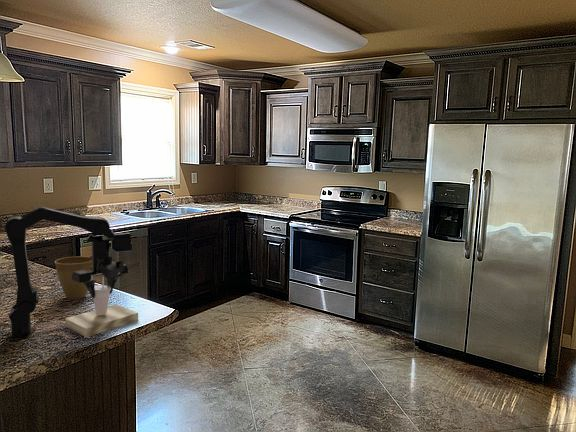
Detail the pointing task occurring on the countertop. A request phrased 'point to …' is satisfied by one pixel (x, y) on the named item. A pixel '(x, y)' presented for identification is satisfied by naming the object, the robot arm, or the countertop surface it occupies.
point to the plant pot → (65, 272)
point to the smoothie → (101, 298)
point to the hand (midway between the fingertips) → (101, 295)
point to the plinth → (101, 320)
